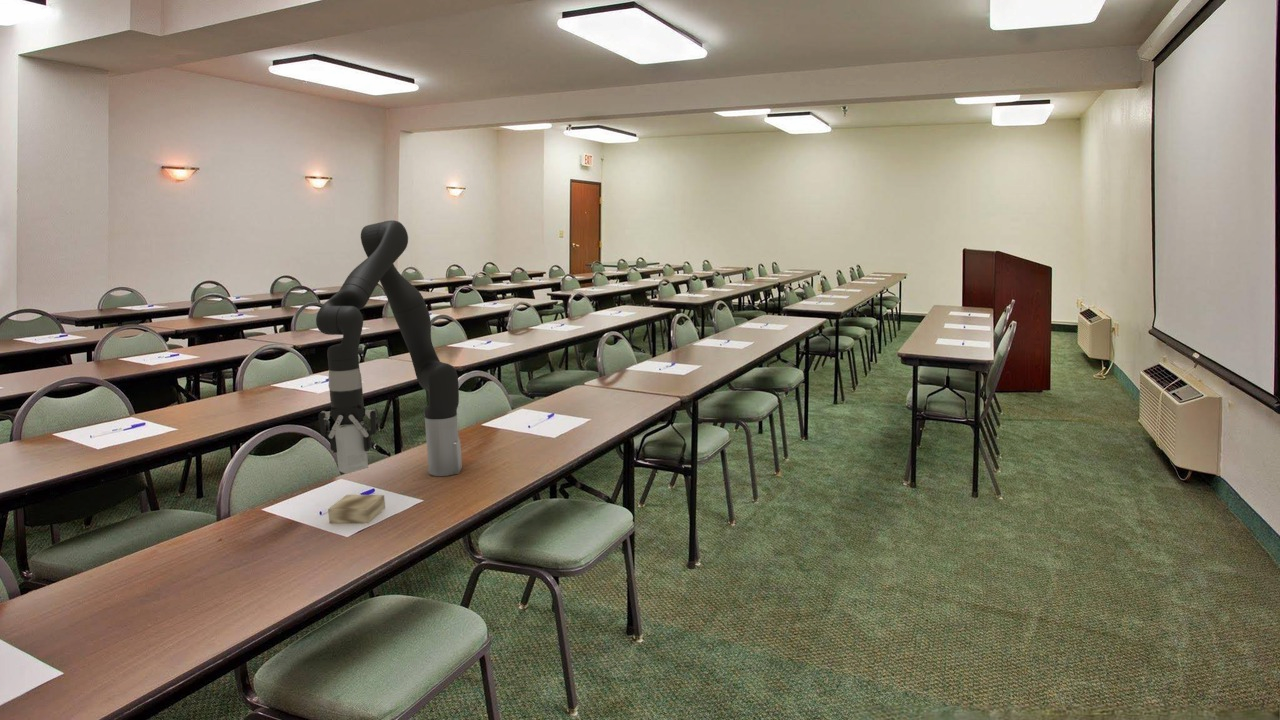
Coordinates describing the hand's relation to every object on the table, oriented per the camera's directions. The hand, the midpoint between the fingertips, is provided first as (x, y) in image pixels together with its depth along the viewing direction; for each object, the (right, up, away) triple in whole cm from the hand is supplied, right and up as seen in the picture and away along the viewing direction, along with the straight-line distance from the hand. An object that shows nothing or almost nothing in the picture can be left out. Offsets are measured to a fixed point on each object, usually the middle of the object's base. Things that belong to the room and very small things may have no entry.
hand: (351, 451), depth 183 cm
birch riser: (0, -17, +3) cm, 17 cm away
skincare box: (0, -5, +1) cm, 5 cm away
